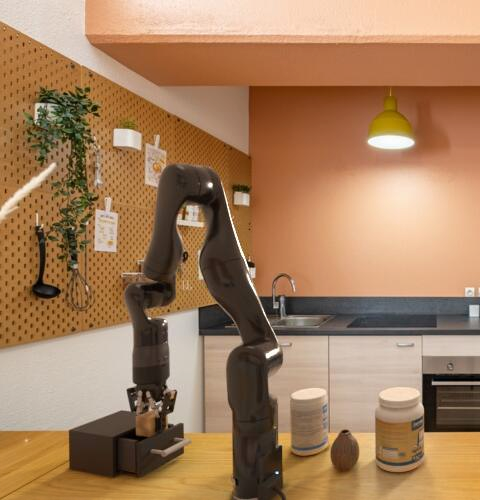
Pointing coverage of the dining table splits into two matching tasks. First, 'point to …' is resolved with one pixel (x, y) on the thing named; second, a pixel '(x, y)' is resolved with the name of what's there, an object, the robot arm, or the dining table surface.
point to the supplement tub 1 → (309, 421)
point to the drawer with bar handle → (150, 449)
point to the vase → (344, 451)
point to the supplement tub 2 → (399, 429)
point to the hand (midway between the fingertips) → (152, 429)
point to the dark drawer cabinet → (99, 443)
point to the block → (147, 424)
